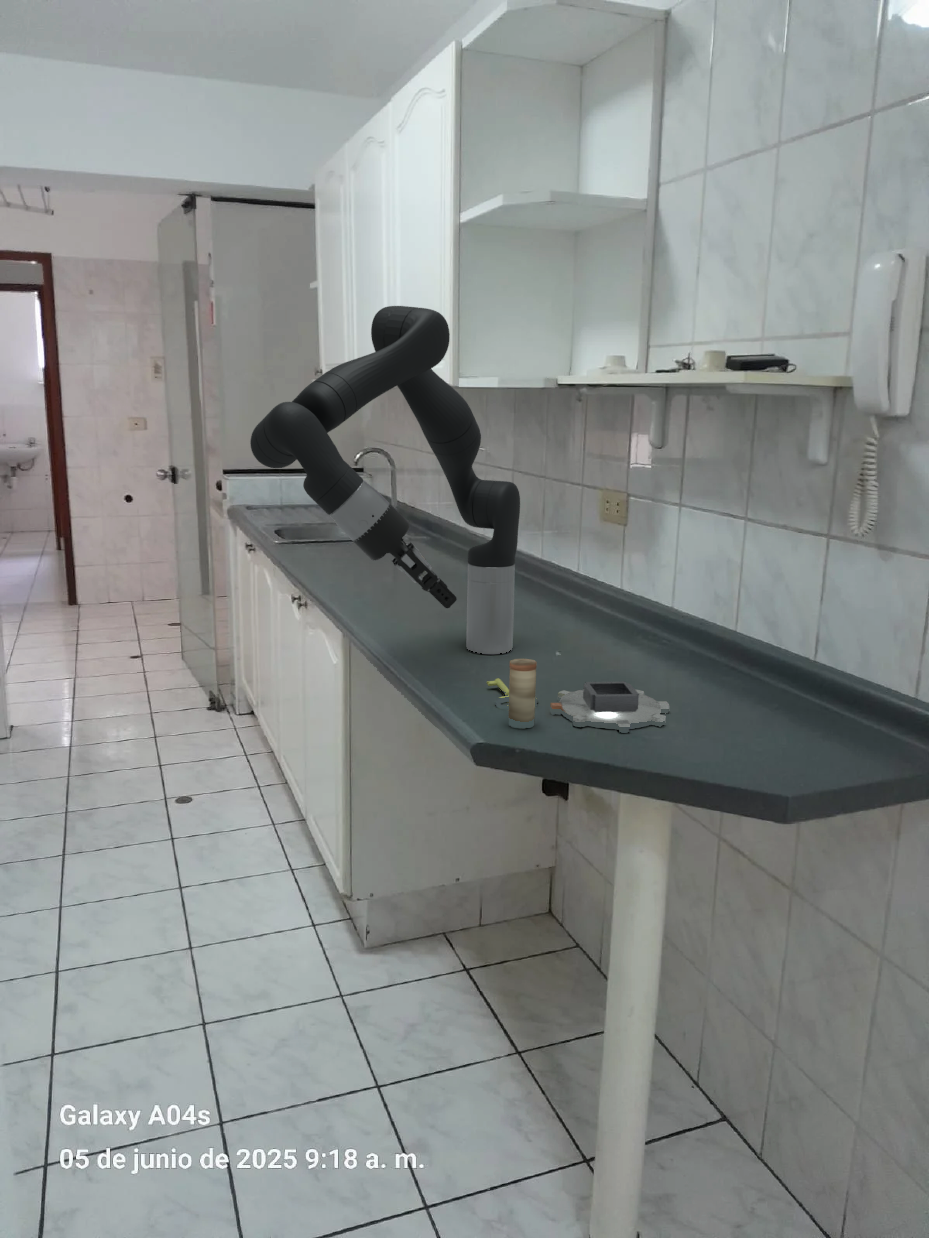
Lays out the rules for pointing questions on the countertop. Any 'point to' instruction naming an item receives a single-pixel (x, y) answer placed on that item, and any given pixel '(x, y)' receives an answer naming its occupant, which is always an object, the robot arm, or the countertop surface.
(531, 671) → the pin
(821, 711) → the countertop surface
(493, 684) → the key
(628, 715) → the sprocket plate
